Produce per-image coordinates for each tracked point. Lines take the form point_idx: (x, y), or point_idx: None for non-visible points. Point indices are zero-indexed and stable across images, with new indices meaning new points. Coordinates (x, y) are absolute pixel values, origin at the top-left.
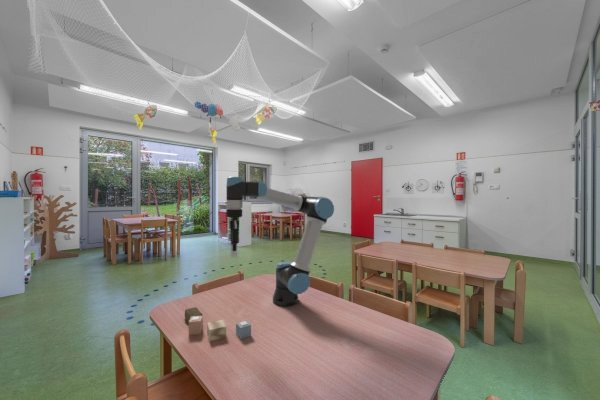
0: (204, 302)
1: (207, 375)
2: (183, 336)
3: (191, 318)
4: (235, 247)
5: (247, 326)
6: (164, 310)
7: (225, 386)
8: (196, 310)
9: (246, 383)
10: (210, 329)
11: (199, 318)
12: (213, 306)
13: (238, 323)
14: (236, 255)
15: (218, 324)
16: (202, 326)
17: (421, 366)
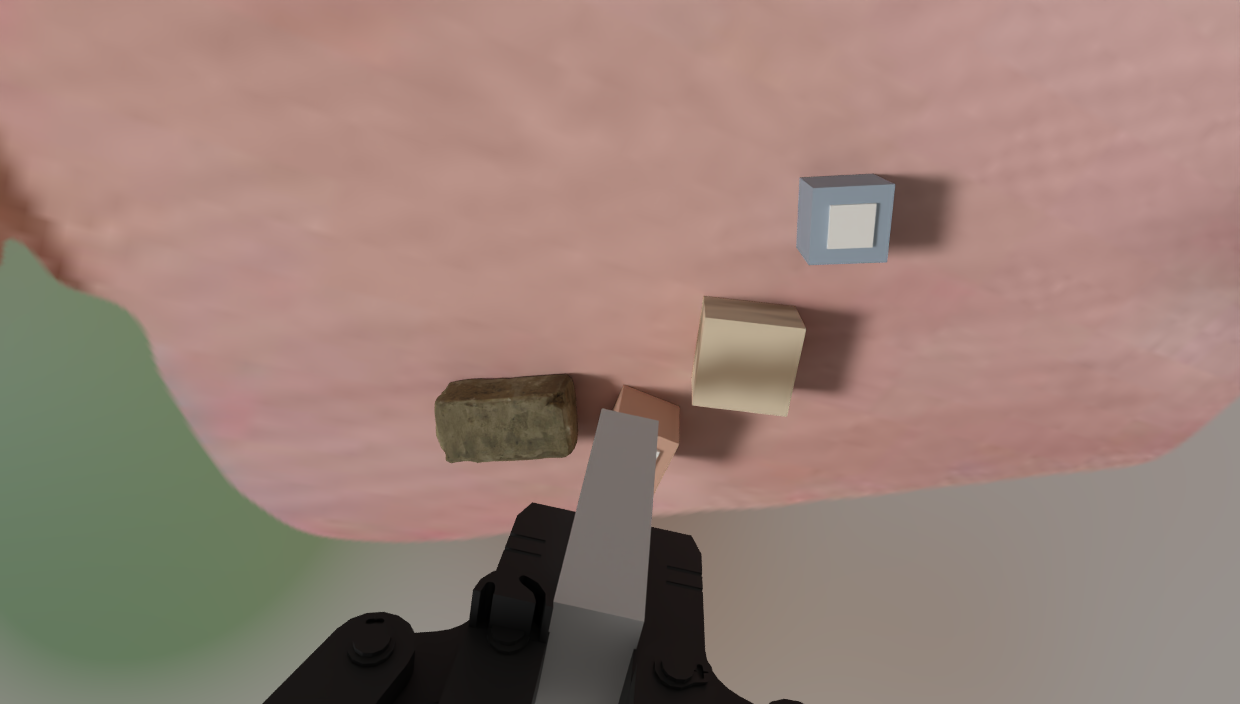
0: (275, 295)
1: (1030, 456)
2: None
3: None
4: (698, 610)
5: (891, 210)
6: (318, 500)
7: (1155, 419)
8: (488, 415)
9: (1217, 345)
10: (783, 410)
11: None
12: (361, 260)
13: (822, 252)
14: (654, 448)
15: (754, 359)
16: (624, 390)
17: None
